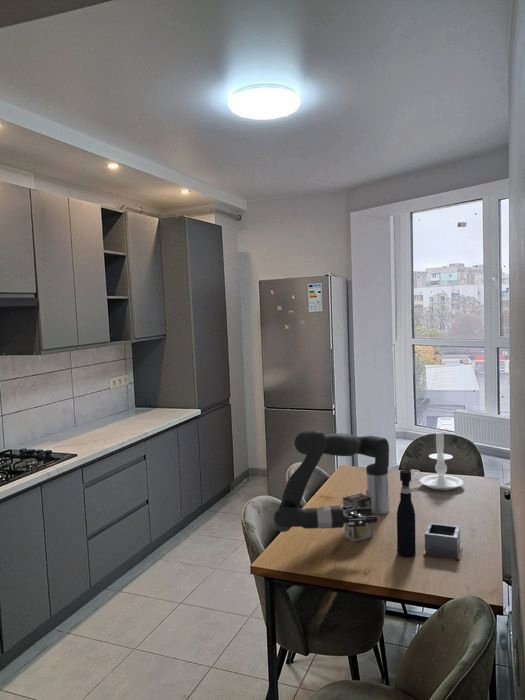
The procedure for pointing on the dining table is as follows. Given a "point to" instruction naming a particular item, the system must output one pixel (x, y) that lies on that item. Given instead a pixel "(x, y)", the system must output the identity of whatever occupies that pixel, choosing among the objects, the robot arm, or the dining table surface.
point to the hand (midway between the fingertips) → (374, 514)
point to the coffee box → (363, 502)
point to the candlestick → (439, 470)
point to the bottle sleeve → (442, 541)
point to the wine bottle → (406, 519)
